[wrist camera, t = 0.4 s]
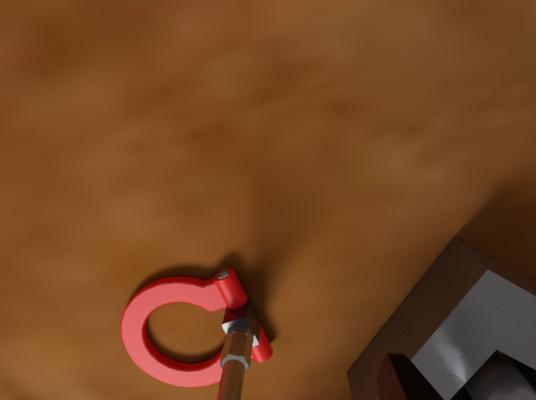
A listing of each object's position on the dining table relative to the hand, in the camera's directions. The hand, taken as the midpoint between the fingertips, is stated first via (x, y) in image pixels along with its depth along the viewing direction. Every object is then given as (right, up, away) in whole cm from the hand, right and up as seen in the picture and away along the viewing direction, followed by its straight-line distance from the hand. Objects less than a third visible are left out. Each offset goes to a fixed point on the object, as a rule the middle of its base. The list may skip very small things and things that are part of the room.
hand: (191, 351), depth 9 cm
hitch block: (+15, -7, +18) cm, 25 cm away
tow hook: (-3, -5, +18) cm, 19 cm away
